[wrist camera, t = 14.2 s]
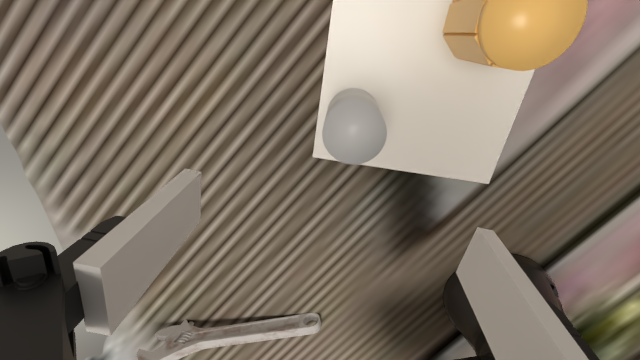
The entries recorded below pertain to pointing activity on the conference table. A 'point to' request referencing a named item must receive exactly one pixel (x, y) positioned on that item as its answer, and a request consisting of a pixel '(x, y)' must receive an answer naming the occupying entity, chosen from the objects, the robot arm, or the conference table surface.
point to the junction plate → (411, 94)
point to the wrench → (227, 335)
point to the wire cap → (513, 31)
